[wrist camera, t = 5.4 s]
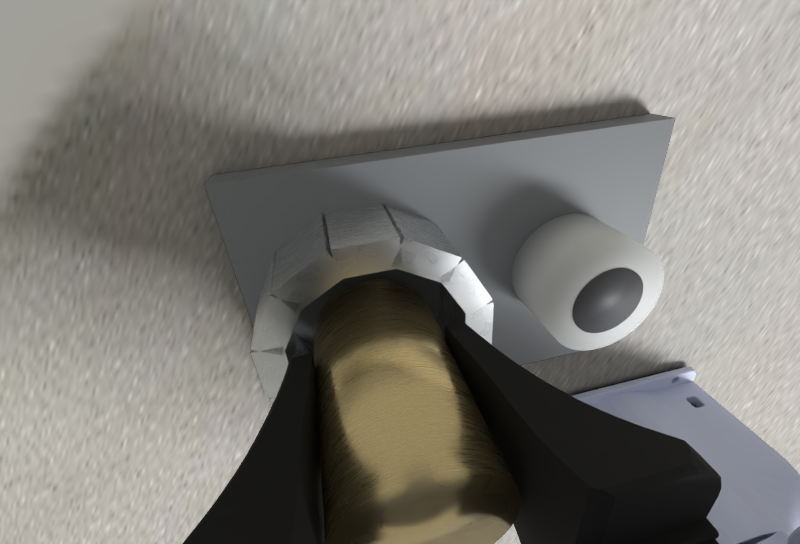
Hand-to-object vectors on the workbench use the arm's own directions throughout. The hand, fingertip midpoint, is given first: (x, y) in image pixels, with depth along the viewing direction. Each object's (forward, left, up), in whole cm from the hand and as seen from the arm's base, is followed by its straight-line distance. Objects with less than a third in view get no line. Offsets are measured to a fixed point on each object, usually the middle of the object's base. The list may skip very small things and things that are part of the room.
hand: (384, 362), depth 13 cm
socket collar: (0, 0, -4) cm, 4 cm away
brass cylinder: (0, 0, -2) cm, 2 cm away
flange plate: (-4, 0, -5) cm, 6 cm away
